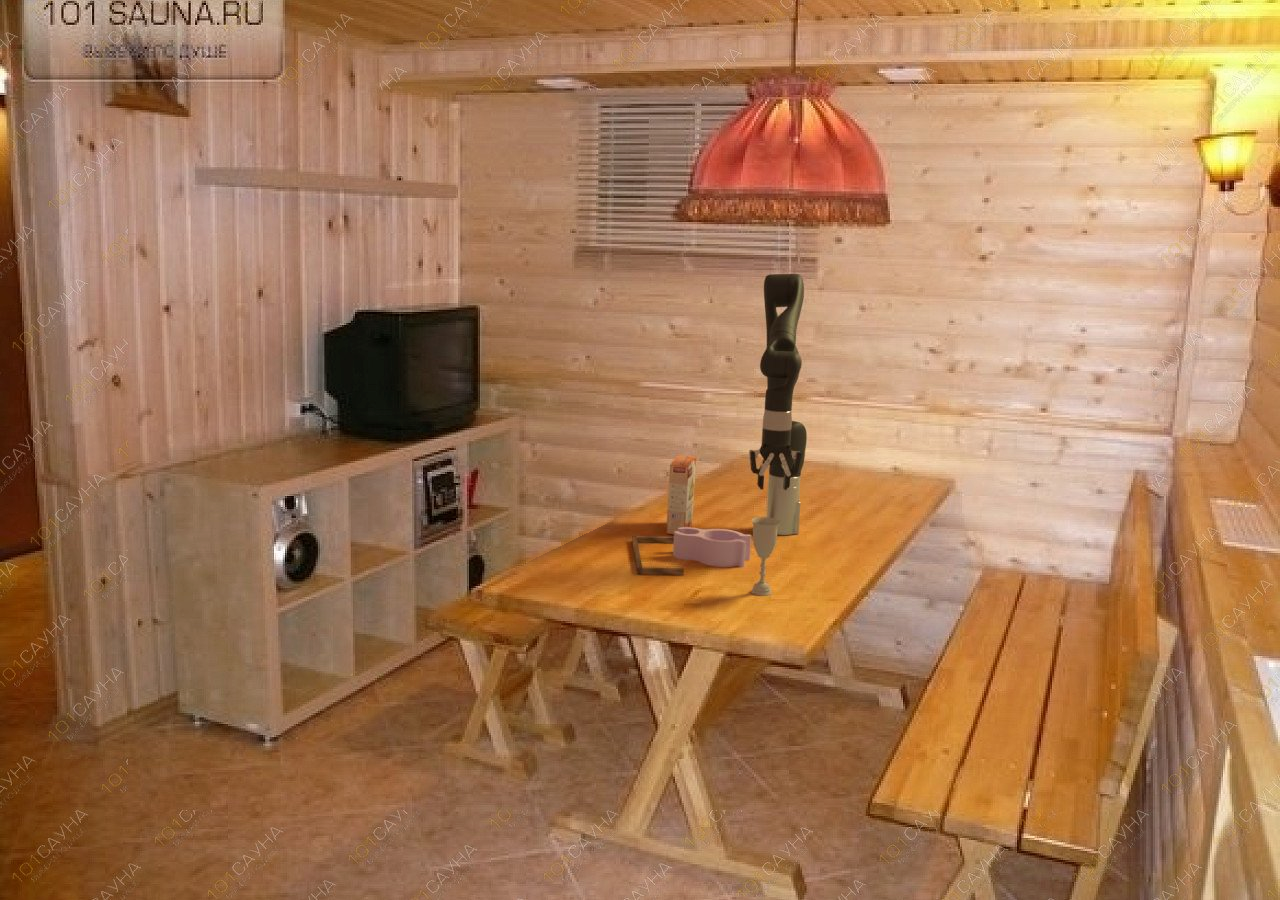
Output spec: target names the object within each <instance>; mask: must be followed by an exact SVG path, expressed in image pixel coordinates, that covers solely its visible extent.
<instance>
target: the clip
mask: <svg viewBox="0 0 1280 900" xmlns="http://www.w3.org/2000/svg"><path fill="white" fill-rule="evenodd" d="M673 537H674V543H673V547H672V548H673V549H672V550H673V551H672V556H673V557H674V558H676V559H680V560H684V561H695V562H699V563H701V564H703V565H708V566H711V567H720V568H722V567H723V568H730V567H739V568H744V567H745V566H746V561H750V560H751V550H752V549H751V547H752V545H751V544H752V534H744V533H742V532H740V531H737V530H736V531H735V530H733V529H732V530H731V529H725V528H724V529H723V528H710V529H704V528H697V527H692V526H690V527H681V528H678V531H674V535H673Z"/></svg>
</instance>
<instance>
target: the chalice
mask: <svg viewBox="0 0 1280 900" xmlns="http://www.w3.org/2000/svg"><path fill="white" fill-rule="evenodd" d="M751 522H752V524H753V526H752V529H753V530H752V542H753V546H754V549H755V552H756V554H757V557H758V558H760V559H761V562H760V565H759V567H760V571H759V572H758V573H759V575H760V578H759V580H758V581H757V582H755V583H754V585H753V587H752V589H751V591H750V592H751V594H753V595H756V596H762V597H764V596H765V597H766V596H771V595H772V590H771V587H770V584H769V582H766V580H765V576H766V575H767V572H766V571H765V570H766V567H767V565H766V560H767V559H769V558H770V556H771V554H772V553H773V552H774V549H775V547H776V544H777V541H778V534H777V529H778V525H779V523H780V521H779V520H777V519H773V518H768V517H765V516H762V517H760V516H759V517H754V518H752V519H751Z"/></svg>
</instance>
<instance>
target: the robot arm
mask: <svg viewBox="0 0 1280 900" xmlns="http://www.w3.org/2000/svg"><path fill="white" fill-rule="evenodd" d="M804 295H805V283H804V279H803V277H802V275H801V274H799V273H777V274H776V273H774V274H771V273H770V274H767V275H766V276H765V278H764V281H763V297H764V298H763V300H764V312H765V313H764V314H765V325H766V328H765V329H766V349H765V350H764V352H763V354H762V356H761V358H760V361H759V362H760V363H759V367H760V371H761V373H762V375H764V377H766V378H767V381H766V384H767V389H766V390H765V396H764V397H765V398H764V410H763V411H764V412H763V416H762V429H761V431H762V433H761V446H760V447H759V448H758V449H754V450H753V449H749V450H748V451H749V452H748V455H749V464H750V470H751V472H752V474H755V475H757V481H756V482H757V483H756V485H757V486H758V488H759V489H760V490H762V491H763V490H764V483H765V475H764V474H765V473H766V470H767V469H768V467H769V469H768V483H767V485H768V486H767V498H766V499H767V500H766V515H765V516H766V517H768V518H773V519H777V520H779V521H780V523H779V525H778V529H777V536H778V535H779V536H790V535H798V534H799V532H800V518H801V517H800V514H801V501H800V488H801V487H800V486H801V474H802V470H803V467H804V464H805V458H806V448H807V439H808V438H807V437H808V436H807V429H806V426H805V425H804V423H802V422H800V421H799V422H798V421H795V420H793V417H792V411H793V410H792V409H793V408H792V407H793V396H794V391H795V390H794V389H795V386H796V385H797V382H798V380H799V376H800V371H801V368H802V358H801V355H800V353H799V351H798V348H797V346H796V341H797V327H798V324H799V319H800V316H801V312H802V307H803V305H804V304H803V303H804V298H805V296H804ZM777 308H785V309H784V310H783V311H782V312H781V313H780V314H779V315H778V312H777ZM759 455H760V456H761V457H762V461H761V463H760V466H759V468H757V460H756V459H758V457H759Z"/></svg>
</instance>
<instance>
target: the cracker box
mask: <svg viewBox="0 0 1280 900" xmlns="http://www.w3.org/2000/svg"><path fill="white" fill-rule="evenodd" d="M696 465H697V457H696V456H692V455H691V456H690V455H677V456H676V457H675V458H674V459H673V461H672V462H671V463H670V464H669V475H668V476H669V477H668V479H669V480H668V497H667V498H668V500H667V513H666V514H667V517H666V535H672V536H674V531H678V528H681V527H692V525H693V513H694V512H693V511H694V495H695V482H696V480H695V479H696V468H697V467H696Z"/></svg>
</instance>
